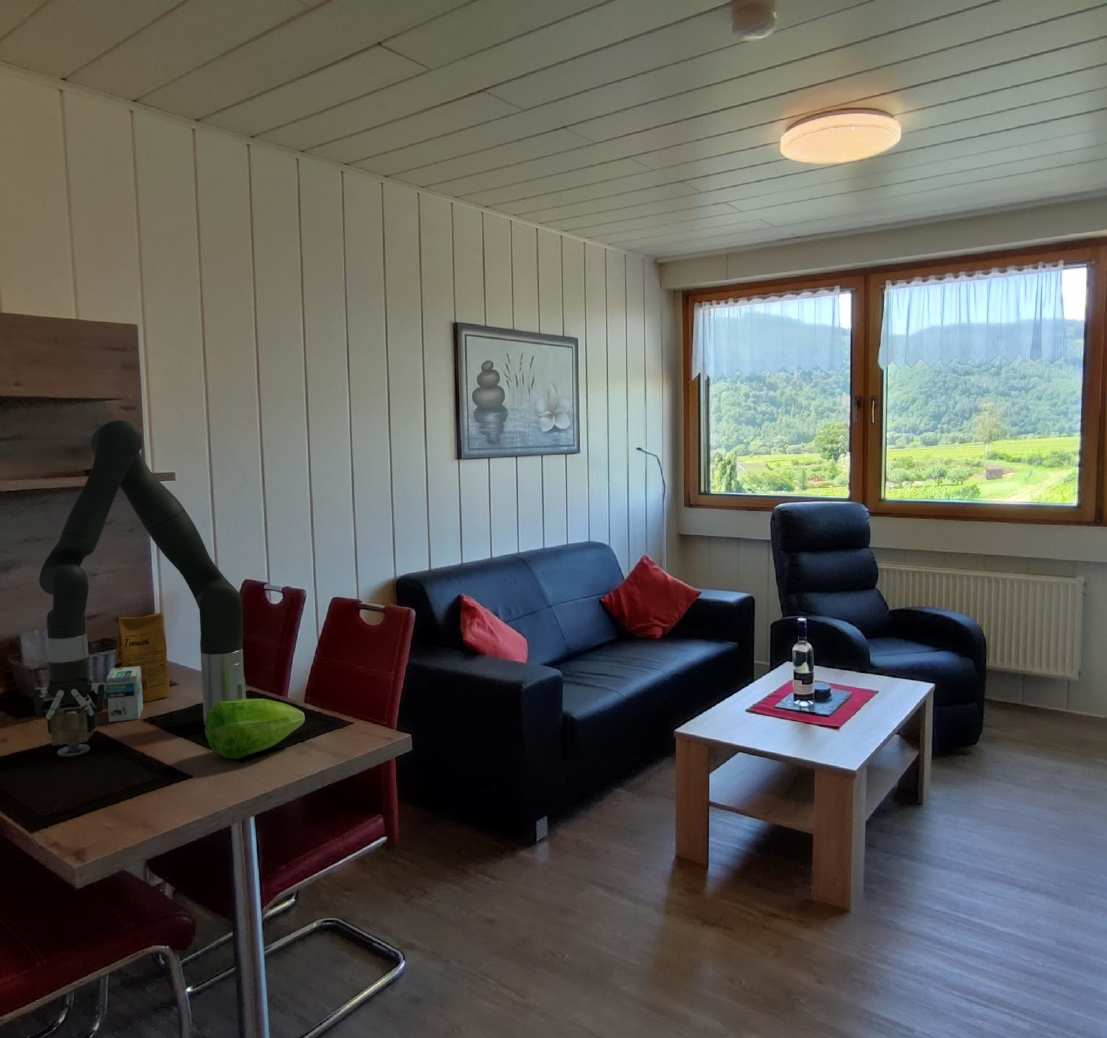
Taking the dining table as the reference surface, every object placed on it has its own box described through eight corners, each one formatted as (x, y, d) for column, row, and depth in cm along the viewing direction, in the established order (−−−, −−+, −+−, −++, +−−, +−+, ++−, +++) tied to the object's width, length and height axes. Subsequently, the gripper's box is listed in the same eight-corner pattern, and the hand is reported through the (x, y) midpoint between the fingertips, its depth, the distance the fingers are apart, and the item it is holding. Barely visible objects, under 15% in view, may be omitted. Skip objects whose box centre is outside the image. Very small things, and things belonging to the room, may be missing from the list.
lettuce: (312, 753, 175) (310, 698, 174) (210, 772, 166) (207, 714, 165) (298, 734, 187) (296, 682, 186) (202, 751, 178) (199, 696, 177)
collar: (94, 732, 182) (92, 705, 181) (85, 742, 176) (84, 714, 175) (61, 735, 180) (59, 708, 180) (51, 745, 174) (50, 717, 174)
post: (93, 745, 182) (90, 707, 181) (85, 755, 176) (83, 715, 175) (62, 748, 180) (60, 709, 179) (53, 758, 174) (51, 718, 174)
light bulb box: (139, 719, 200) (137, 675, 199) (108, 723, 197) (105, 678, 196) (143, 707, 210) (141, 665, 209) (113, 710, 207) (111, 667, 206)
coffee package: (114, 697, 218) (109, 614, 216) (165, 689, 225) (161, 609, 223) (118, 707, 210) (113, 621, 208) (172, 698, 216) (167, 615, 215)
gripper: (110, 649, 182) (114, 724, 183) (35, 655, 178) (40, 731, 180) (101, 658, 175) (105, 735, 176) (23, 663, 171) (28, 742, 172)
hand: (72, 733), depth 178 cm, fingers closed on collar, 6 cm apart
